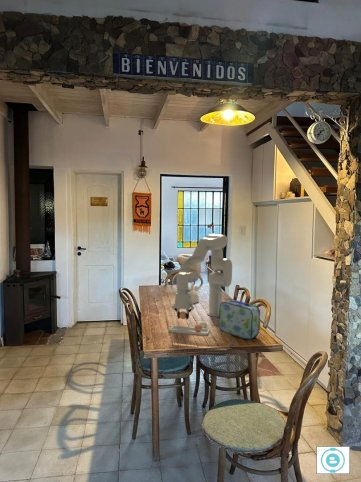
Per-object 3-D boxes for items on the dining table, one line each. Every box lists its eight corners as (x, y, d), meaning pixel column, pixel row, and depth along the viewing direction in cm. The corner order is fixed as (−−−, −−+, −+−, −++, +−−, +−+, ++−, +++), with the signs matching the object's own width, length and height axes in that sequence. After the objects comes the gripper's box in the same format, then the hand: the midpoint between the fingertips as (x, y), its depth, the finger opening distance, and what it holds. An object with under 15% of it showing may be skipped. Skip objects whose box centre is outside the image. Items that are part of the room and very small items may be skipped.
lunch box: (262, 338, 201) (263, 304, 199) (252, 342, 193) (253, 307, 192) (227, 327, 219) (228, 296, 218) (217, 331, 212) (217, 298, 210)
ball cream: (200, 327, 218) (200, 319, 217) (207, 328, 216) (207, 320, 216) (198, 329, 213) (198, 322, 212) (206, 330, 212) (206, 322, 211)
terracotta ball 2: (195, 330, 210) (195, 322, 209) (203, 331, 209) (203, 323, 208) (193, 333, 205) (193, 325, 205) (201, 334, 204) (201, 326, 203)
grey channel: (172, 329, 215) (172, 325, 215) (209, 332, 209) (209, 328, 209) (169, 333, 207) (169, 329, 207) (207, 337, 201) (207, 333, 201)
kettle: (203, 302, 281) (203, 281, 280) (181, 305, 272) (181, 283, 271) (192, 297, 299) (192, 277, 298) (171, 299, 290) (171, 279, 289)
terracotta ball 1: (180, 317, 221) (180, 310, 221) (187, 317, 220) (187, 310, 220) (178, 319, 217) (178, 312, 216) (186, 320, 215) (185, 313, 215)
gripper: (196, 290, 218) (197, 317, 220) (171, 289, 222) (172, 315, 224) (194, 293, 211) (194, 321, 213) (168, 292, 215) (169, 319, 217)
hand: (183, 318), depth 218 cm, fingers closed on terracotta ball 1, 4 cm apart
